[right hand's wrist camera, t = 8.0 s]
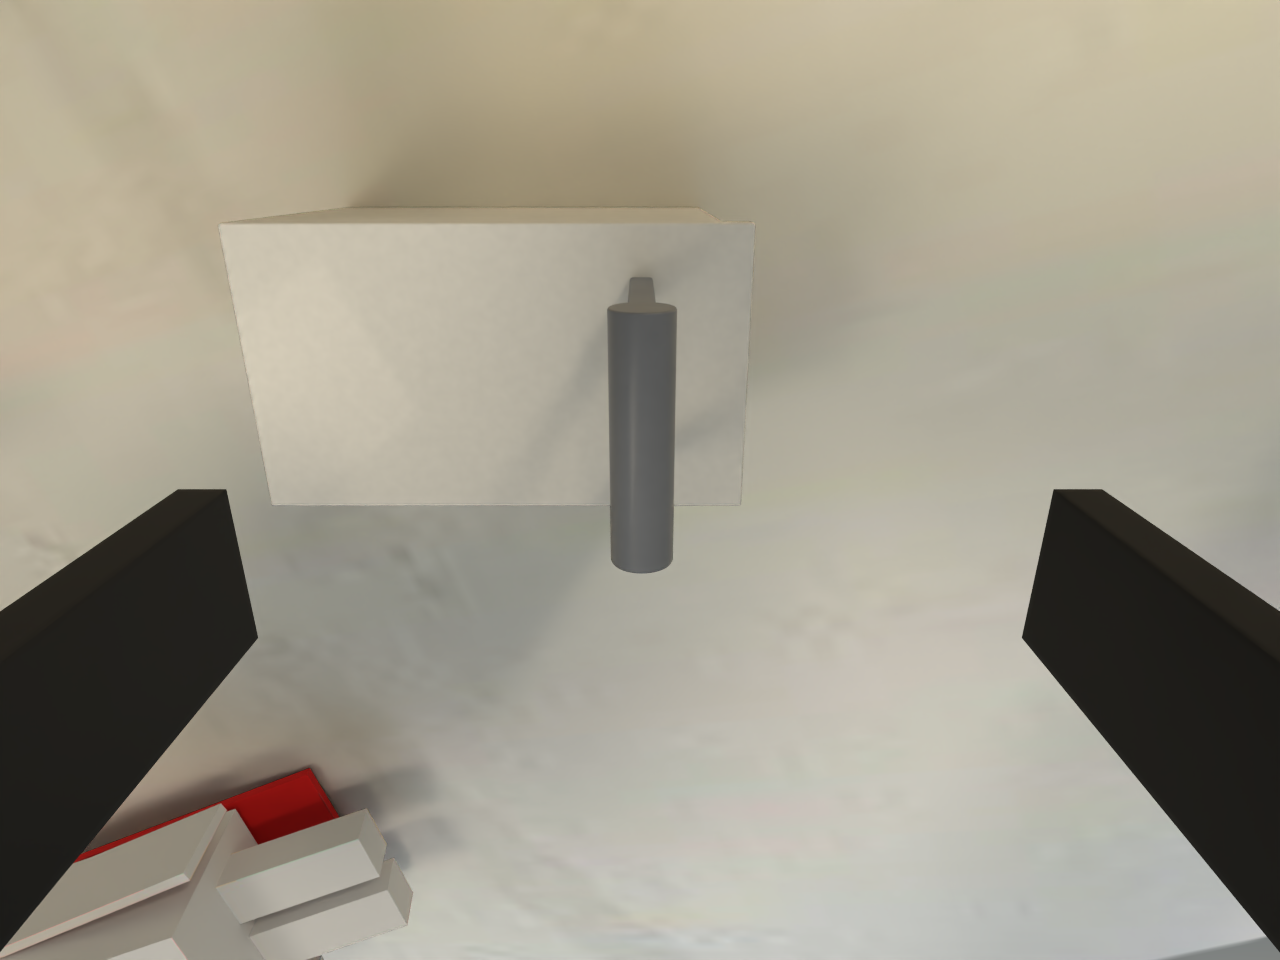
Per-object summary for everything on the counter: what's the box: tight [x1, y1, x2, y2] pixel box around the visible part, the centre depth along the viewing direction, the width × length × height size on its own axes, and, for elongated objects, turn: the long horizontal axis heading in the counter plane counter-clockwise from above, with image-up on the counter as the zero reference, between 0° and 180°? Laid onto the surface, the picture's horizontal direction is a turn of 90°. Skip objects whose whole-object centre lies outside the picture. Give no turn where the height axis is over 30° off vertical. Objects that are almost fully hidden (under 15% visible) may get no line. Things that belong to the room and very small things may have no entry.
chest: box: [239, 207, 720, 221], centre depth 30 cm, size 15×9×10 cm, turn 90°
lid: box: [218, 221, 756, 573], centre depth 21 cm, size 16×9×8 cm, turn 90°
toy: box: [0, 768, 413, 960], centre depth 42 cm, size 12×13×30 cm
